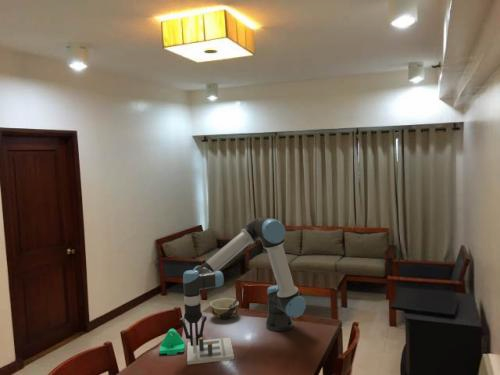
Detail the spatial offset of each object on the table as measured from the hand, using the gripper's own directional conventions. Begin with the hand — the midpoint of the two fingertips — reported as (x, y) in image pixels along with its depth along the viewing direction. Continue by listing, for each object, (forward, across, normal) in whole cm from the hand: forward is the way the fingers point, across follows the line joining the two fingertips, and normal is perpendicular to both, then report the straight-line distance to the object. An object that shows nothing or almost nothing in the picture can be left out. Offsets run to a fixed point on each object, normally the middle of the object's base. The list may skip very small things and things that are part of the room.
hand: (195, 351), depth 201 cm
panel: (+4, -7, -7) cm, 11 cm away
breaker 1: (+2, -3, -7) cm, 8 cm away
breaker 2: (+2, -7, 0) cm, 7 cm away
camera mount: (+4, +11, -13) cm, 18 cm away
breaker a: (+2, -3, -14) cm, 15 cm away
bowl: (+4, -18, -52) cm, 55 cm away
